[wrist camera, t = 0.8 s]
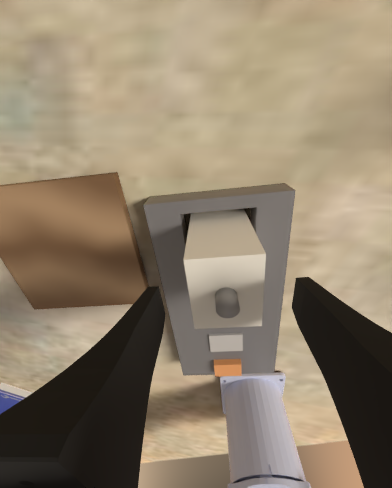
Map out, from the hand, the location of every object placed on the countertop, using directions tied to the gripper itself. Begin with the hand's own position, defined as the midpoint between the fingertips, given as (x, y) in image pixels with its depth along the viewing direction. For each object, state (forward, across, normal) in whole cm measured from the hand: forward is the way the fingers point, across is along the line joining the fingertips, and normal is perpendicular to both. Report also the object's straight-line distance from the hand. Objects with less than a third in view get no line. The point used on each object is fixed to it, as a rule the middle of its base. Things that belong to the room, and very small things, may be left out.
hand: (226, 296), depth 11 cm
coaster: (+7, +13, 0) cm, 15 cm away
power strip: (+7, 0, +6) cm, 9 cm away
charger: (+7, 0, 0) cm, 7 cm away
